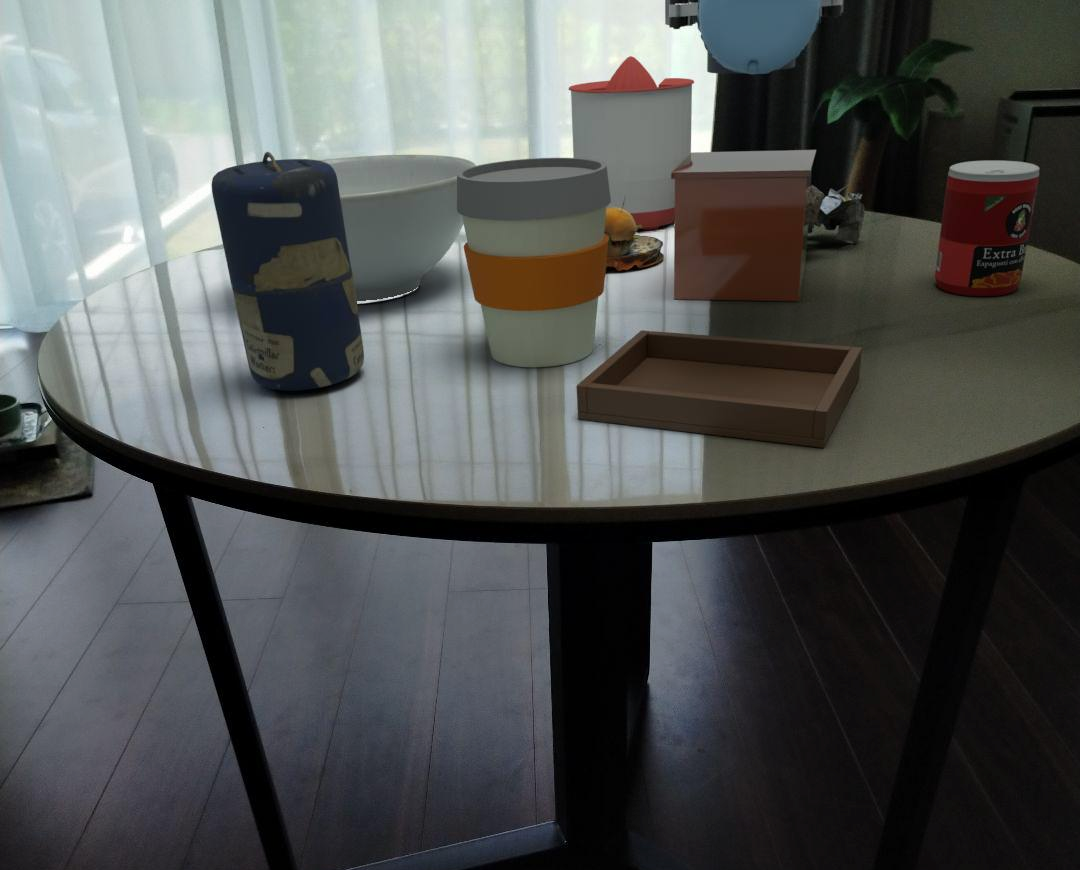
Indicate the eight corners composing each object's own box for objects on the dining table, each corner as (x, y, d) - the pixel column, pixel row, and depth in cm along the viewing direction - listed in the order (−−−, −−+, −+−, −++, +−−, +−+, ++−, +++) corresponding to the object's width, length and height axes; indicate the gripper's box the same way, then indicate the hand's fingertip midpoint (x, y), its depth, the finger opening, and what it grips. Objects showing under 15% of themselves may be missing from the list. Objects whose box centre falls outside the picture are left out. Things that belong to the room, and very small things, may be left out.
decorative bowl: (434, 250, 124) (423, 147, 118) (527, 295, 103) (519, 172, 97) (217, 285, 114) (193, 175, 109) (270, 343, 93) (244, 210, 87)
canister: (366, 355, 88) (334, 139, 80) (368, 391, 80) (333, 153, 71) (256, 367, 87) (212, 148, 78) (247, 404, 79) (196, 165, 70)
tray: (859, 380, 76) (862, 347, 75) (824, 448, 65) (827, 411, 64) (641, 360, 83) (640, 329, 82) (577, 419, 72) (576, 385, 71)
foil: (906, 220, 109) (811, 152, 102) (849, 307, 112) (753, 248, 105) (848, 198, 118) (757, 135, 111) (797, 279, 122) (705, 223, 115)
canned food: (977, 302, 92) (996, 177, 86) (915, 284, 98) (929, 166, 93) (1038, 288, 94) (1061, 166, 89) (974, 272, 101) (991, 157, 96)
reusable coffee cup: (443, 351, 88) (424, 173, 81) (556, 320, 94) (547, 153, 87) (525, 385, 79) (512, 188, 72) (644, 349, 85) (643, 164, 78)
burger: (645, 245, 120) (645, 180, 117) (678, 266, 110) (679, 196, 106) (549, 255, 118) (545, 190, 115) (573, 278, 108) (570, 207, 104)
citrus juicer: (703, 209, 137) (707, 48, 128) (679, 236, 123) (681, 57, 113) (594, 209, 142) (590, 53, 132) (559, 235, 128) (551, 63, 118)
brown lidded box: (808, 270, 105) (816, 149, 100) (801, 302, 95) (810, 170, 89) (689, 268, 109) (690, 152, 103) (670, 300, 98) (671, 172, 93)
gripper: (617, 69, 78) (642, 52, 97) (896, 53, 74) (863, 38, 94) (615, -41, 74) (641, -36, 94) (907, -64, 70) (871, -54, 90)
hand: (752, 1), depth 94 cm, fingers closed on grey container, 8 cm apart
